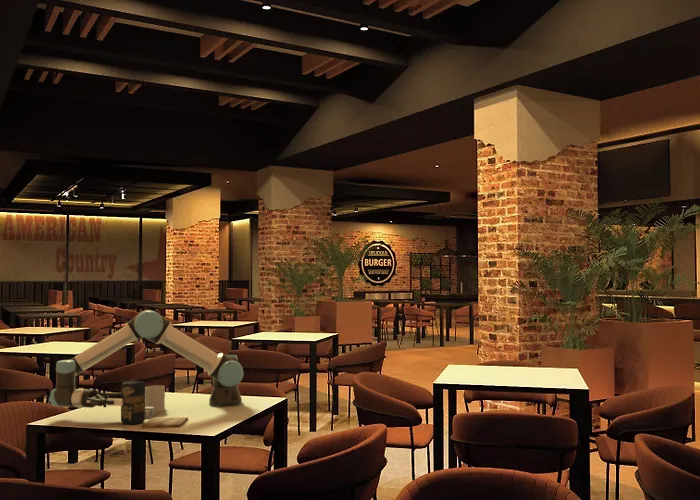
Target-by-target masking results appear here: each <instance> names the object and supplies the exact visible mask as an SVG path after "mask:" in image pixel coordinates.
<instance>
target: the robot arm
mask: <svg viewBox="0 0 700 500" xmlns="http://www.w3.org/2000/svg"><path fill="white" fill-rule="evenodd" d="M143 338H145V339H146V340H148V341H150V342H152V343H154V344H155V345H159V344H162V345H163V346H165V347H167V348H169V349H171V350H172V351H174V352H175V353H177V354H179V355H180V356H182V357H184V358H185V359H187V360H189V361H190V362H192V363H194V364H195V365H197V366H199V367H200V368H202V369H204V370H205V371H206V372H207V375H208V376H209V377H210V378H212V389H211V393H210V396H209V401H208V404H209V406H212V407H233V406H238V405H241V404H242V403H243V401H242V396H241V392H240V390H239V384H240V383H241V381H242V380H243V378H244V375H245V374H244V368H243V366H242V364H241V363H240V362H239V359H238V355H237V354H225V353H223V352H220V353H218V352H217V353H216V352H215V351H213V350H211V349H210V348H209V347H208V346H205V345H204V344H202V343H200V342H199V341H197V340H195V339H194V338H192V337H190V336H189V335H187V334H186V333H184V332H182V331H180V330H179V329H177V328H175V327H174V326H173V325H172V321H170V320H169V319H167V318H166V317H164V316H162V315H161V314H160V313H158V312H157V311H155V310H152V309H145V310H142V311H140V312H139V313H138V314H137V315H136V316H134V317H133V318H132V319H130V320H129V321H127V322H126V323H125V325H124V326H123V327H122V328H120V329H118V330H116V331H114V332H113V333H111V334H110V335H108V336H107V337H105V338H103V339H102V340H100V341H98V342H97V343H95V344H93V345H91V346H90V347H89V348H86V349H84V350H83V351H82V352H80V353H79V354H77V355H75V356H74V357H72V358H70V359H63V360H58V361H56V363H55V365H56V366H55V381H56V383H55V384H56V385H55V388H54V389H51V392H50V393H49V394H50V395H49V400H48V401H49V403H50V404H51V405H52V406H53V407H60V408H78V409H82V408H89V409H90V408H91V409H92V408H95V407H96V406H97V407H103V408H107V406H112V407H113V406H115V407H121V406H123V399H121V392H100V393H99V392H98V390H97V389H93V388H91V389H89V388H76V376H78V375H80V374H81V373H83V372H85V371H86V370H87V369H89V368H91V367H92V366H94V365H95V364H98V363H99V362H101V361H102V360H104V359H106V358H107V357H109V356H110V355H112V354H114V353H115V352H117V351H119V350H121V349H122V348H124V347H126V346H127V345H129V344H130V343H133V342H134V341H140V340H141V339H143Z"/></svg>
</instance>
